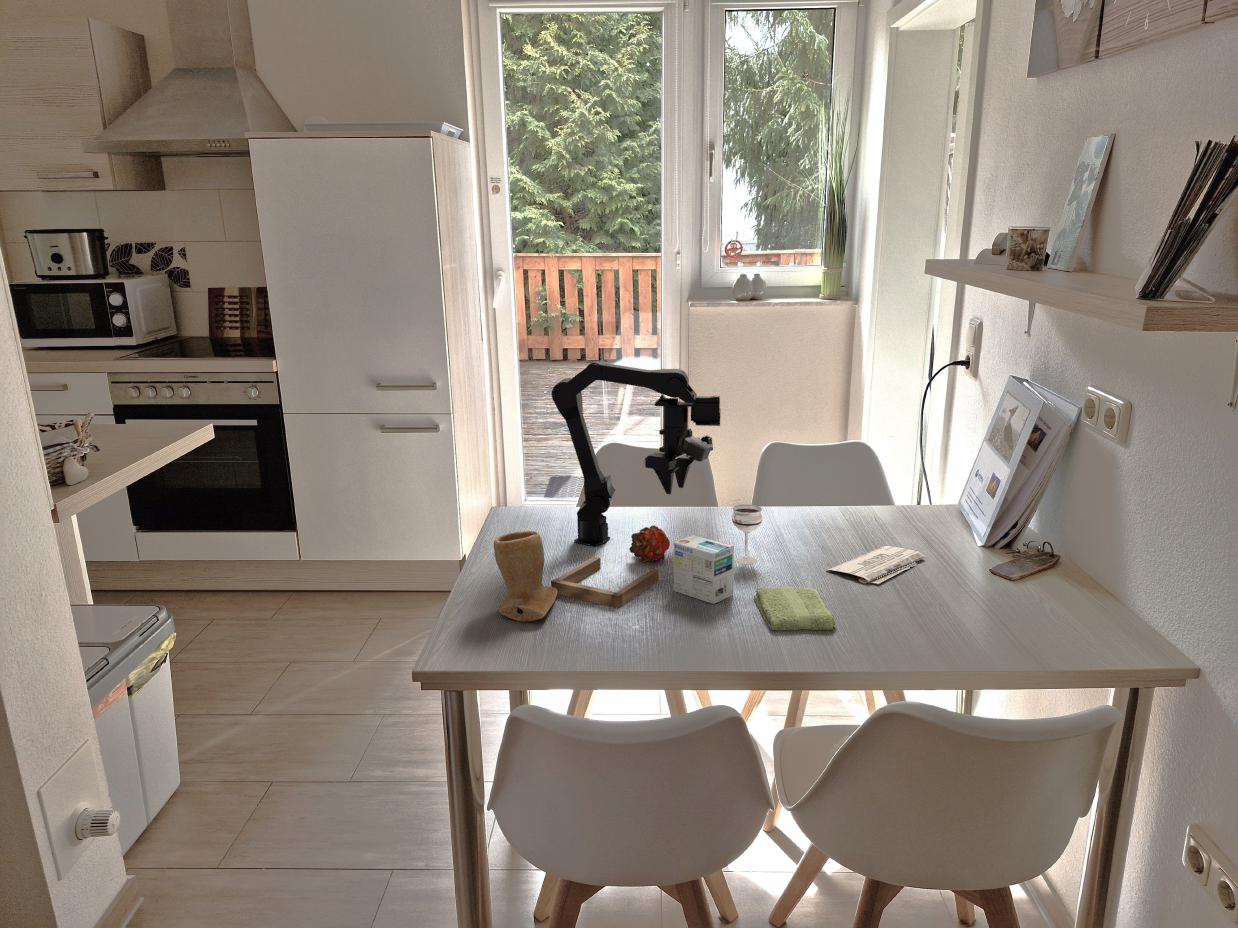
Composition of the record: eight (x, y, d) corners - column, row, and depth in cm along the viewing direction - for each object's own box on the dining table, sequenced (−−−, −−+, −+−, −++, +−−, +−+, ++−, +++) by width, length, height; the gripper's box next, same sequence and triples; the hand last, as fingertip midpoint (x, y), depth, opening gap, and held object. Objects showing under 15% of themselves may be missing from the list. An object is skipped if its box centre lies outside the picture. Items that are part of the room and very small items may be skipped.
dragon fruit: (639, 576, 192) (652, 565, 203) (671, 556, 189) (682, 546, 201) (618, 543, 192) (632, 534, 204) (649, 523, 190) (661, 514, 202)
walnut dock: (551, 592, 179) (550, 581, 179) (594, 567, 193) (594, 556, 192) (618, 608, 171) (618, 596, 171) (658, 580, 185) (658, 569, 184)
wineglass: (760, 555, 199) (761, 504, 196) (762, 565, 193) (763, 513, 190) (730, 554, 200) (731, 503, 197) (731, 565, 193) (732, 513, 190)
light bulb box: (734, 595, 177) (735, 544, 174) (714, 605, 172) (715, 553, 170) (692, 582, 184) (693, 533, 181) (672, 591, 179) (672, 541, 177)
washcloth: (815, 595, 177) (816, 580, 176) (838, 633, 160) (839, 617, 159) (751, 597, 177) (751, 582, 176) (766, 635, 160) (766, 618, 159)
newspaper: (875, 590, 180) (875, 578, 180) (826, 579, 190) (825, 568, 189) (934, 562, 195) (933, 551, 194) (885, 554, 204) (885, 543, 203)
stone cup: (506, 591, 180) (503, 522, 176) (563, 595, 178) (561, 524, 174) (483, 622, 166) (479, 547, 162) (544, 626, 164) (541, 550, 160)
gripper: (688, 436, 189) (687, 506, 192) (724, 421, 204) (723, 486, 208) (643, 431, 194) (643, 498, 198) (682, 417, 210) (681, 480, 214)
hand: (674, 490), depth 204 cm, fingers open, 6 cm apart
